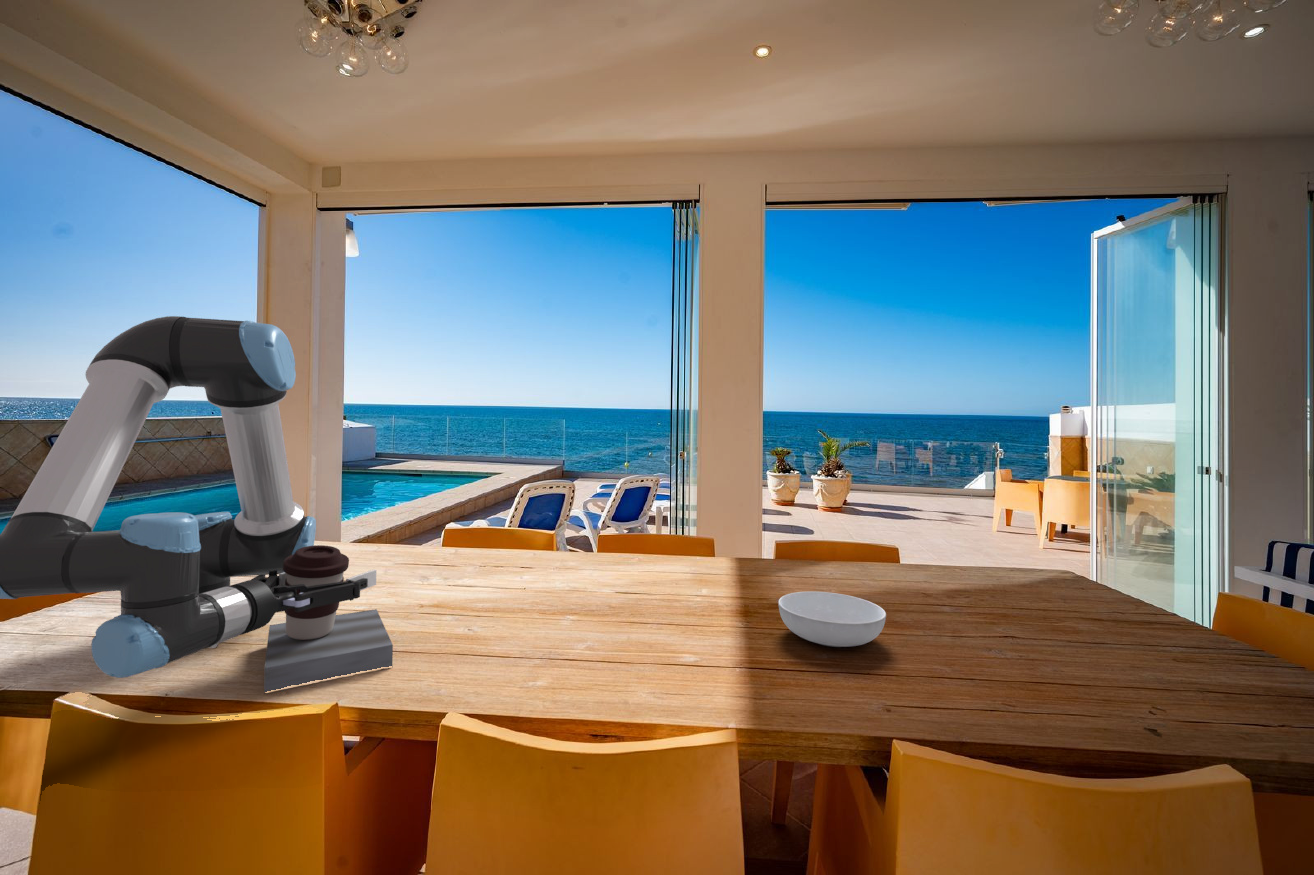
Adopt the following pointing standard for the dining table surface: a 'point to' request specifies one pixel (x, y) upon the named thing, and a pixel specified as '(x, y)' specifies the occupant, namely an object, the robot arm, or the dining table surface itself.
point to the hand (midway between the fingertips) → (342, 574)
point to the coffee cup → (313, 570)
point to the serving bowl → (831, 618)
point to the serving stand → (327, 651)
